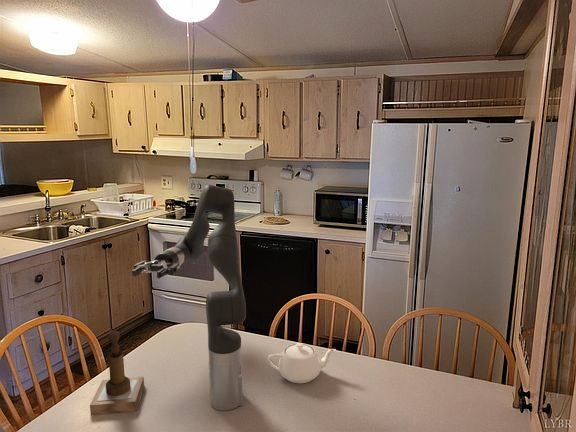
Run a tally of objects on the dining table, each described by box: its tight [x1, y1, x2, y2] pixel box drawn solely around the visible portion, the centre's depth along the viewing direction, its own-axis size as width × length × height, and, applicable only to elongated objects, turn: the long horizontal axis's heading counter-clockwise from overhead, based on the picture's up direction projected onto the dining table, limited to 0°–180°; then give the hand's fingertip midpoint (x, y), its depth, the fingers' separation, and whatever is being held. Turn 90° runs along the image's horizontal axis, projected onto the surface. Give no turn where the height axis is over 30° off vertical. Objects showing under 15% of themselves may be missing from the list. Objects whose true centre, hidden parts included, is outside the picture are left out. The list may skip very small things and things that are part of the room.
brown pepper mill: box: [106, 330, 130, 396], centre depth 119 cm, size 7×6×18 cm
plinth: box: [89, 376, 145, 416], centre depth 121 cm, size 12×12×3 cm
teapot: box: [267, 342, 337, 384], centre depth 133 cm, size 22×14×11 cm, turn 94°
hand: (145, 274), depth 133 cm, fingers open, 8 cm apart
